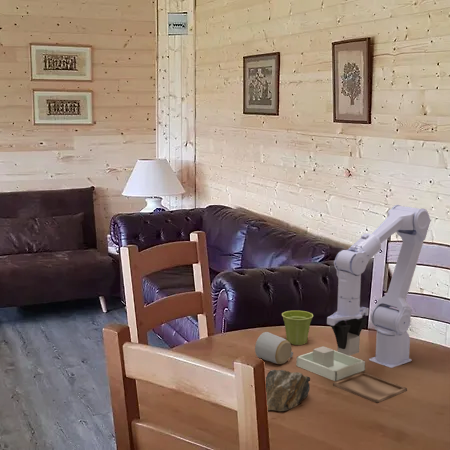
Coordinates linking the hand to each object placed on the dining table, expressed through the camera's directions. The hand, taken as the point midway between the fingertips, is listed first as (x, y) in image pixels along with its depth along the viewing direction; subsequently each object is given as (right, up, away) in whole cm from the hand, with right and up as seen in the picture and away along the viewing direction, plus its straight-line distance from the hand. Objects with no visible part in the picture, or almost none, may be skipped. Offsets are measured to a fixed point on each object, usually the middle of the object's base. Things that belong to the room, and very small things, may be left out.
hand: (347, 346), depth 186 cm
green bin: (-3, -7, +6) cm, 10 cm away
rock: (-19, -11, -14) cm, 26 cm away
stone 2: (0, -2, 0) cm, 2 cm away
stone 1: (-5, -7, +8) cm, 12 cm away
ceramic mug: (-18, -6, +13) cm, 23 cm away
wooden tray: (+5, -10, -7) cm, 13 cm away
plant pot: (-10, -4, +28) cm, 30 cm away
